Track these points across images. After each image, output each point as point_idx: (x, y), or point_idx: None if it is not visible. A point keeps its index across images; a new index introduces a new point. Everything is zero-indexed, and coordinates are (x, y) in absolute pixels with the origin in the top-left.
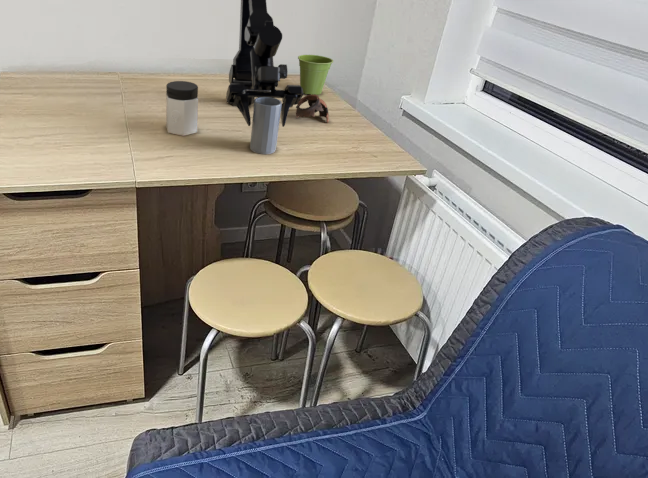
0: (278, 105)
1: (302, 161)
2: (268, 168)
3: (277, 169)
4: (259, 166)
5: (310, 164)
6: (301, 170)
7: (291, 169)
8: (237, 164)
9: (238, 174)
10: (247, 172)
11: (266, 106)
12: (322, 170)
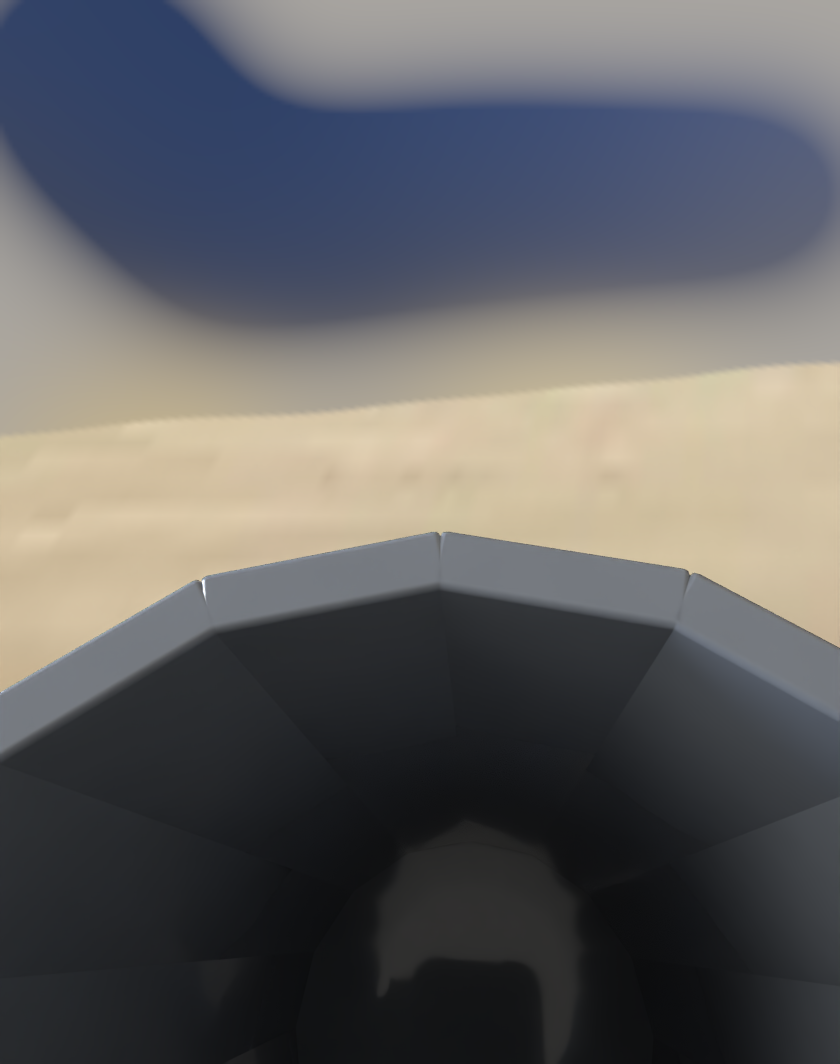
0: (72, 651)
1: (104, 626)
2: (514, 479)
3: (430, 461)
4: (598, 518)
5: (58, 559)
6: (209, 444)
7: (295, 461)
8: (835, 560)
9: (816, 373)
10: (730, 406)
11: (648, 577)
12: (17, 445)
